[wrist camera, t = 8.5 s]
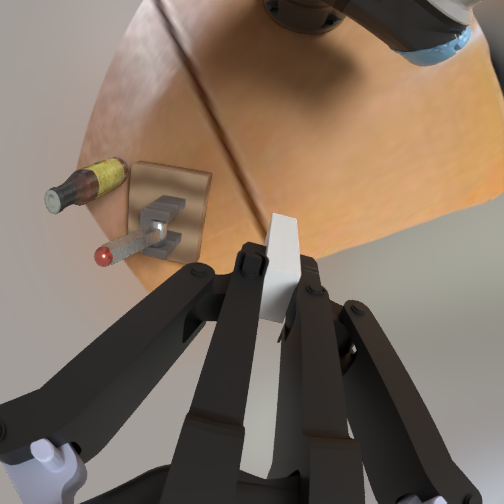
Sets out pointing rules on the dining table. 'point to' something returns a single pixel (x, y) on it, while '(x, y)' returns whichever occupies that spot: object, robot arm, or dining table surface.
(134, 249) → the lever
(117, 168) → the sauce bottle
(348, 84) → the dining table surface
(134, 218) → the base
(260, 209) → the dining table surface
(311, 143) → the dining table surface
